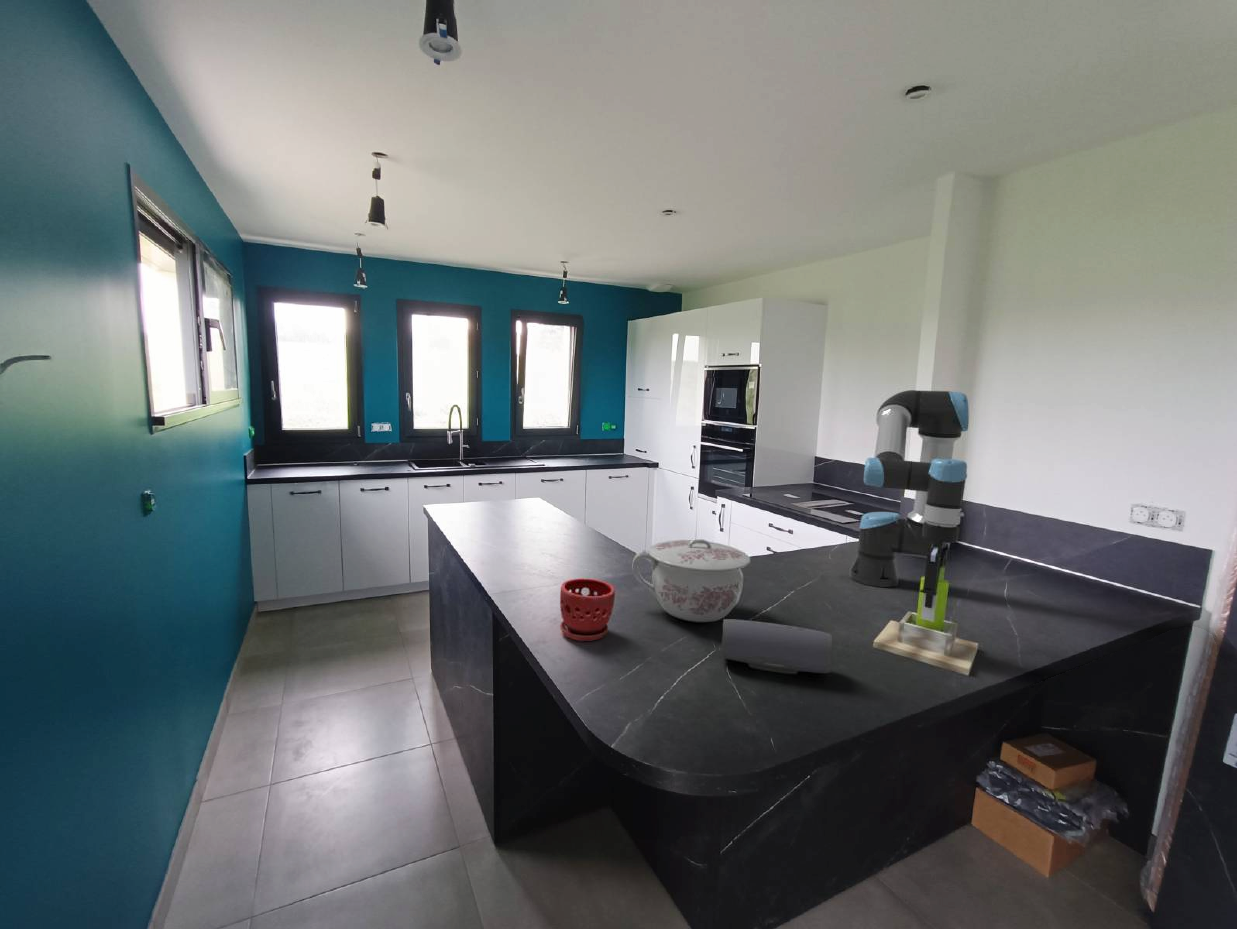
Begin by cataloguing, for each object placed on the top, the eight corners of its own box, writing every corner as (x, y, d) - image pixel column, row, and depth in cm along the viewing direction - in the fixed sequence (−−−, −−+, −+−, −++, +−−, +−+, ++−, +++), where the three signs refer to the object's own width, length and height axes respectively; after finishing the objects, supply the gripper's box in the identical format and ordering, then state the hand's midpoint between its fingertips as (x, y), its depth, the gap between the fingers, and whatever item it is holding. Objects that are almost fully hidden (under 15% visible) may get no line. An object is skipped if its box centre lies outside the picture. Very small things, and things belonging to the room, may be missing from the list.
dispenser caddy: (872, 646, 136) (875, 621, 135) (890, 625, 150) (893, 602, 149) (968, 675, 124) (972, 647, 123) (977, 649, 138) (981, 624, 137)
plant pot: (571, 649, 126) (573, 598, 125) (550, 626, 138) (552, 580, 136) (621, 640, 132) (624, 592, 131) (598, 619, 144) (600, 574, 142)
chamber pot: (764, 615, 153) (771, 542, 150) (708, 644, 133) (714, 560, 130) (682, 587, 172) (686, 522, 169) (622, 609, 151) (626, 535, 149)
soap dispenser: (938, 627, 139) (948, 550, 137) (944, 638, 133) (955, 557, 130) (912, 623, 141) (921, 546, 138) (917, 633, 134) (927, 553, 132)
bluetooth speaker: (823, 666, 125) (828, 624, 123) (829, 687, 116) (834, 641, 114) (721, 651, 130) (724, 610, 128) (719, 669, 121) (722, 625, 119)
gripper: (953, 532, 123) (940, 632, 126) (964, 520, 138) (953, 609, 141) (916, 526, 128) (904, 622, 131) (930, 515, 143) (920, 601, 146)
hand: (929, 615), depth 136 cm, fingers closed on soap dispenser, 6 cm apart
